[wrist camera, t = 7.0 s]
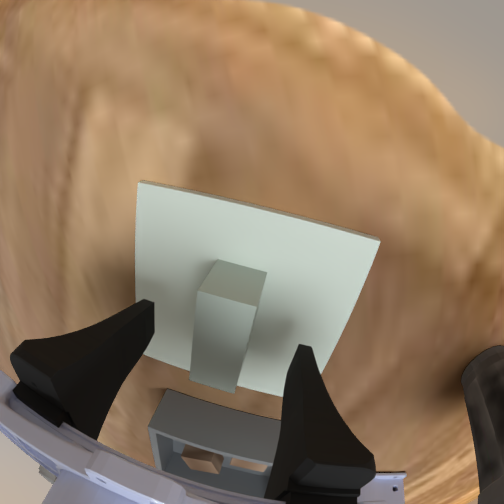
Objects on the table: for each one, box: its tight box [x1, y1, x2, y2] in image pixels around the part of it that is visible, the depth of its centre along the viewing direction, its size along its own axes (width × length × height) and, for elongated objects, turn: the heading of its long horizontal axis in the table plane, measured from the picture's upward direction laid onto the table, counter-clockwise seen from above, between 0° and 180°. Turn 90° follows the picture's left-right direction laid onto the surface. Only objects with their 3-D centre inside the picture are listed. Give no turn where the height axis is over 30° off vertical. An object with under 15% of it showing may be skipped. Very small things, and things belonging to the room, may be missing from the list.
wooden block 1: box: [181, 444, 224, 474], centre depth 23 cm, size 3×3×2 cm
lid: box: [135, 180, 380, 397], centre depth 15 cm, size 12×12×4 cm
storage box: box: [148, 388, 281, 498], centre depth 21 cm, size 12×12×4 cm
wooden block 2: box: [230, 458, 268, 472], centre depth 21 cm, size 3×3×2 cm
